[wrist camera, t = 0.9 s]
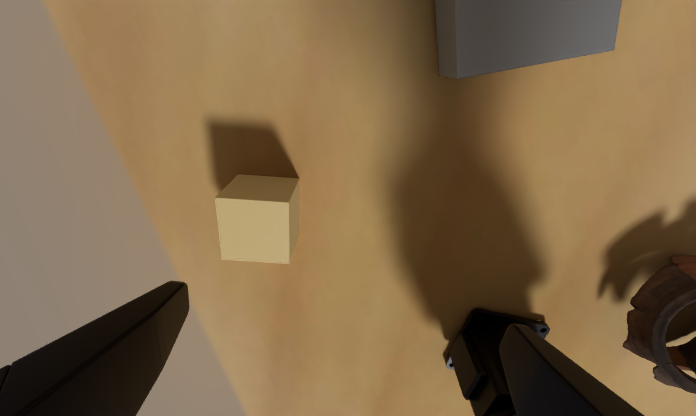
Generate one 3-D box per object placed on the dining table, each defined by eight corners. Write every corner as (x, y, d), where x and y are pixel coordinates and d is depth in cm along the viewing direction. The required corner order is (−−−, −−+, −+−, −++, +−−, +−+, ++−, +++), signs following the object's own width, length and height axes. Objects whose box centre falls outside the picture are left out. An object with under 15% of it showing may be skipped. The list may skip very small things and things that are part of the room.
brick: (299, 177, 21) (288, 202, 17) (299, 231, 23) (289, 263, 19) (238, 173, 21) (214, 197, 17) (242, 227, 23) (222, 259, 19)
